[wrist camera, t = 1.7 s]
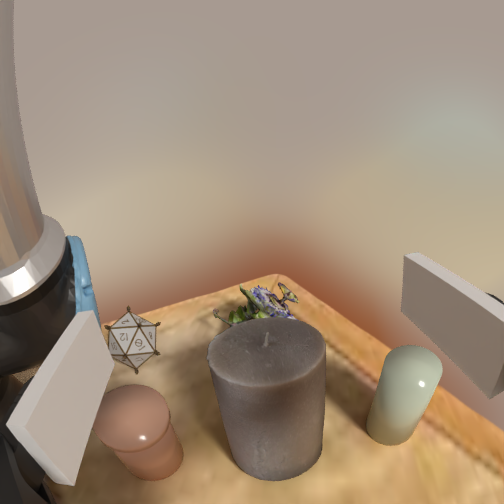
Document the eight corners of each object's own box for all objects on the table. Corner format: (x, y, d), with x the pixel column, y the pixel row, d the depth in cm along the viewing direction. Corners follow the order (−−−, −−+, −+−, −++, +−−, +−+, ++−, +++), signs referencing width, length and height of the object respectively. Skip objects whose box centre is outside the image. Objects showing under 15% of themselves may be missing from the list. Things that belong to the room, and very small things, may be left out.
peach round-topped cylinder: (108, 451, 28) (79, 410, 25) (157, 417, 34) (137, 373, 30) (148, 496, 24) (118, 462, 20) (201, 454, 29) (184, 414, 26)
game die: (143, 369, 46) (135, 307, 48) (179, 371, 42) (170, 301, 44) (96, 376, 39) (87, 307, 41) (129, 381, 35) (119, 301, 37)
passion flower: (286, 361, 49) (327, 332, 40) (225, 379, 44) (255, 354, 35) (261, 300, 54) (293, 261, 46) (201, 311, 49) (223, 271, 40)
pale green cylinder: (357, 433, 30) (374, 375, 26) (378, 398, 34) (396, 338, 30) (403, 452, 26) (433, 397, 22) (421, 414, 30) (448, 355, 26)
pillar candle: (323, 415, 33) (326, 302, 28) (319, 484, 23) (327, 371, 19) (241, 413, 35) (221, 303, 30) (219, 477, 26) (184, 366, 21)
